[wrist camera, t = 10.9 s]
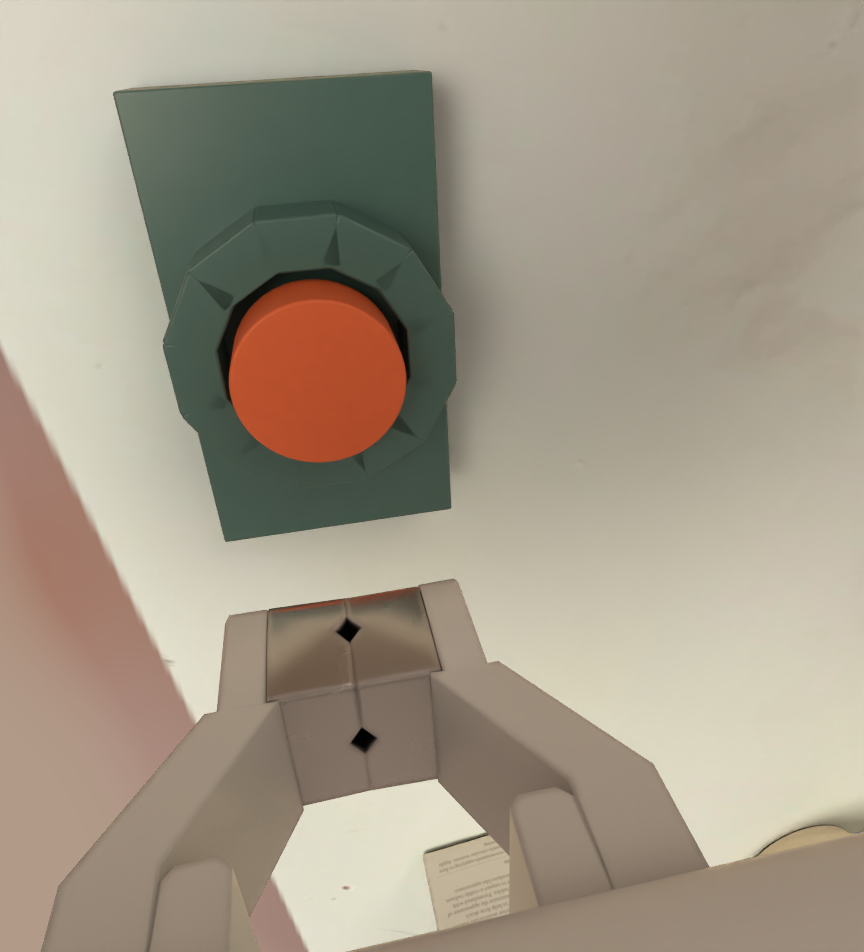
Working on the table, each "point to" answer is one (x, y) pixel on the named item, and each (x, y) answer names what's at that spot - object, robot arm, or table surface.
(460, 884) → the product carton
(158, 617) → the table surface
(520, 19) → the table surface
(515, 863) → the robot arm
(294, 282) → the release button
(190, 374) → the button block
